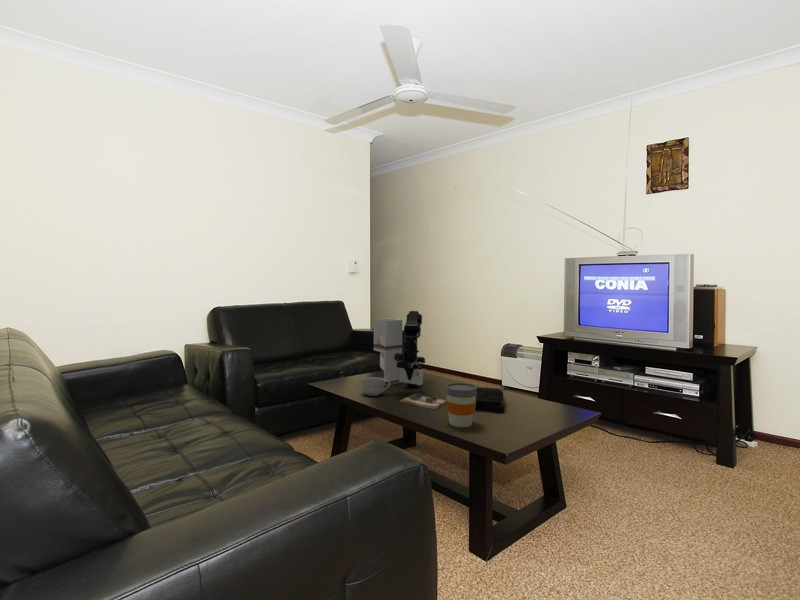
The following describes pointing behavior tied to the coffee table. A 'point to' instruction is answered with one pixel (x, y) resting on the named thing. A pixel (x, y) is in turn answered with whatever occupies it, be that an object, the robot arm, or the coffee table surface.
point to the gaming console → (489, 400)
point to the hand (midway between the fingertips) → (411, 379)
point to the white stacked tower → (388, 346)
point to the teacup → (374, 386)
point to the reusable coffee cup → (461, 403)
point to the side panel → (423, 401)
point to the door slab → (416, 376)
